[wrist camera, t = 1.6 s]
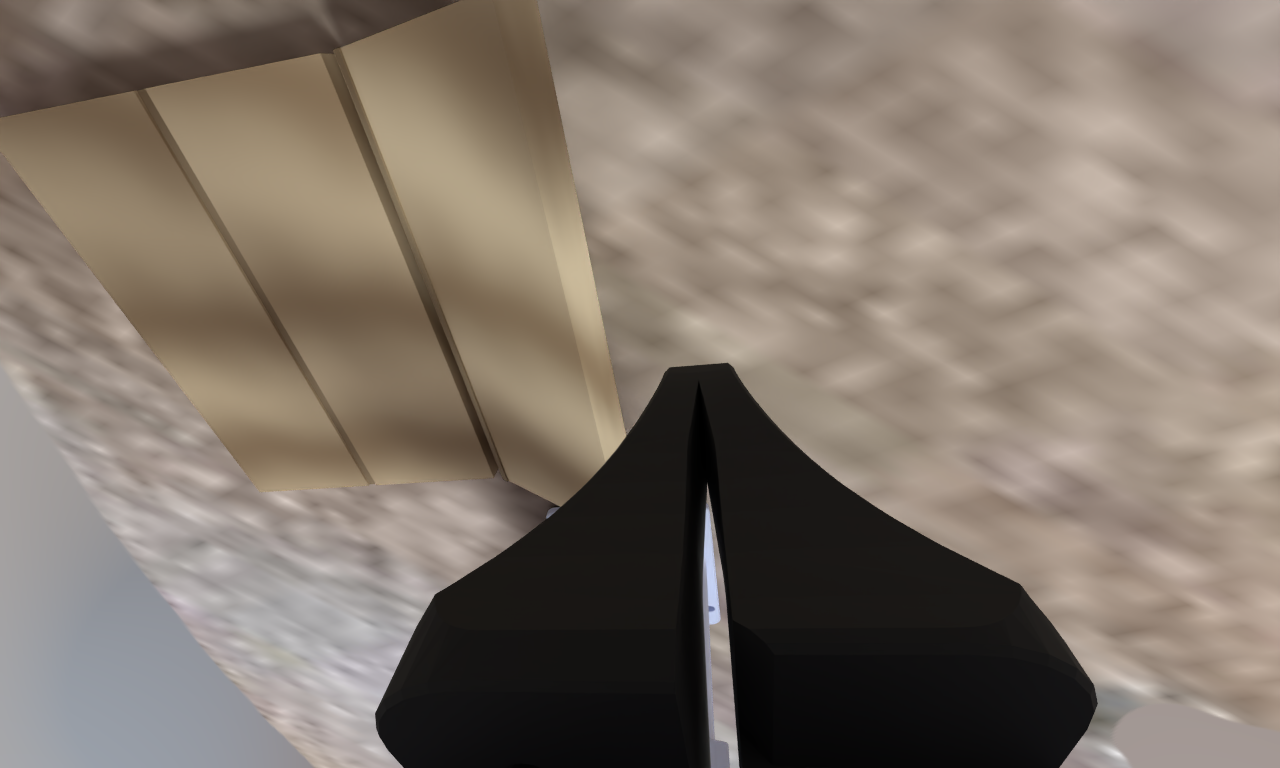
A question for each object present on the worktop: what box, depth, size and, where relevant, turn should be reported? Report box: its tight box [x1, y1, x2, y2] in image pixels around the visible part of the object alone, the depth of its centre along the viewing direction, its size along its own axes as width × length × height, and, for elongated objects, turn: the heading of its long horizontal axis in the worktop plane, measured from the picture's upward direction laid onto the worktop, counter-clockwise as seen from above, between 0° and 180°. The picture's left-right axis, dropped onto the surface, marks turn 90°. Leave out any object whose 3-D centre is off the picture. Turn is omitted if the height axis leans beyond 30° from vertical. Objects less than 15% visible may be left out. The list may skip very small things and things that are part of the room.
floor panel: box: [0, 53, 498, 492], centre depth 19 cm, size 16×12×1 cm
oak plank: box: [333, 0, 626, 507], centre depth 16 cm, size 16×7×1 cm
